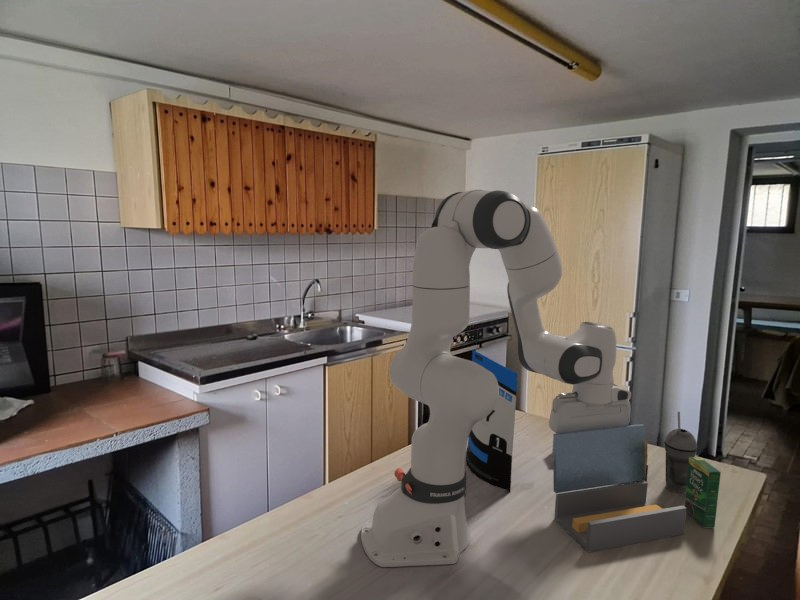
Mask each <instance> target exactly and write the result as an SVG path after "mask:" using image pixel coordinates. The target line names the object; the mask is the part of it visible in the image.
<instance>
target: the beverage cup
mask: <svg viewBox="0 0 800 600" xmlns="http://www.w3.org/2000/svg"><path fill="white" fill-rule="evenodd" d="M663 443H664V449H665V488H666V489H667V490H668V491H669V492H673V493H676V494H686V486H687V475H688V463H689V457H696V454H697V450H698V444H697V440H696V437H695V436H694V435H693V433H691V432H690V431H688V430H687V429H683V428H681V412H680V411H677V428H676V429H675V428H674V429H672V430H670V431H669V432H668V433H667V435H666V437H665V439H664V441H663Z"/></svg>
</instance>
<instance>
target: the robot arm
mask: <svg viewBox="0 0 800 600" xmlns="http://www.w3.org/2000/svg"><path fill="white" fill-rule="evenodd" d="M431 223H432V224H431V227H430V228H427V229H426V230H424V231H423V232H421V233H420V235H419V236H418V238H417V240H416V245H415V250H414V256H413V265H412V278H411V281H412V286H411V287H412V290H411V291H412V295H411V296H412V298H411V299H412V300H411V301H412V303H411V304H412V308H411V309H412V310H411V325H410V330H409V334H408V337H407V340H406V342H405V344H404V345H403V346H402V348H401V349H399V350H398V351H397V352H396V353H395V354H394V356H393V357H392V359H391V362H390V365H389V368H388V369H389V370H388V371H389V373H388V375H389V379H390V382H391V383H392V386H394V387H395V388H396V389H398V390H399V392H401V393H402V394H403V395H405V396H406V397H407V398H409V399H412V400H415V401H417V402H419V403H421V404H424V405H426V406H428V409H429V417H428V422H426V423H423V424H422V425H420V426H419V427H418V428H417V429H416V430H415V431H414V432H413V434H412V437H411V449H410V451H411V452H410V468H409V469H408V471H407V472H406V473H405V471H404V470H403V468H401V467H400V468H397V469H395V471H394V473H393V474H394V477H395V478H396V480H397V481H398V482H400V485H401V486H400V487H399V488H397V489H396V490H395V491H394V492H392V493H391V494H390V495H388V496H387V497H386V498H384V499H383V500H382V501H380V502H378V504H377V505H376V507H375V509H374V512H373V516H372V520H370V521H368V522H365V523H363V525H362V528H361V533H360V540H361V545H362V548H363V550H364V552H365V554H366V555H367V557H368V558H369V559H370V561H372V563H373V564H375V565H377V566H378V567H381V568H395V567H416V566H418V567H419V566H435V565H436V566H440V565H442V566H443V565H454V564H456V563H457V562H458V560H459V557H460V554H461V553H462V552H463V551H464V550H465V549H467V547H468V545H469V543H470V541H471V540H470V539H471V536H470V532H469V529H468V523H467V517H466V516H467V515H466V508H465V504H466V503H465V498H466V496H467V487H468V483H467V480H468V479H467V471H466V452H467V446H468V437H469V434H470V432H471V430H472V428H473V426H474V425H475V424H476V423H477V422H478V421H479V420H481V419H483V418H485V417H486V416H488V415H489V414H490V413H491V412H492V410H493V409H494V408H495V406H496V404H497V401H498V397H499V386H498V382H497V379H496V377H495V375H494V374H493V373H492V372H490V371H489V370H487V369H485V368H484V367H482V366H480V365H479V364H477V363H475V362H473V361H472V360H469V359H465V358H461V357H459V356H455V355H452V353H451V347H452V341H453V338H454V337H455V336H457V335H459V334H460V333H462V332H464V330H465V329H467V327H468V325H469V323H470V305H471V303H470V297H471V296H470V293H471V291H470V290H471V288H470V287H471V285H470V284H471V282H470V281H471V279H470V276H471V274H470V273H471V271H470V266H471V265H470V264H471V260H472V257H473V254H474V252H475V251H476V249H491V250H492V249H493V250H498V252H499V253H500V256H501V259H502V262H503V266H504V269H505V270H506V271H505V272H506V275H507V279H508V283H507V285H506V288H507V289H506V290H507V297H508V298H507V299H508V304H509V308H510V311H511V315H512V320H513V322H514V327H515V331H516V336H517V355H518V360H519V362H520V364H521V366H522V367H523V368H524V369H525V370H526V371H529V372H532V373H535V374H539V375H542V376H545V377H548V378H550V379H553V380H556V381H559V382H561V383H563V384H568V385H572V387H571V388H572V389H571V392H565V393H561V392H560V393H558V395H556V396H555V397H554V398H553V399H552V402H551V403H552V404H551V406H552V407H551V410H550V415H549V421H548V427H549V428H550V430H551V431H552V432H554V434H555V433H565V432H574V431H583V430H592V429H601V428H610V427H619V426H628V425H629V424H630V421H631V411H632V409H631V408H632V407H631V401H630V400H631V398H632V392H631V391H630V390H628V389H626V388H625V387H622V386H620V385H618V384H614V381H615V379H614V378H615V377H614V367H615V365H616V361H617V335H616V332H615V329H614V328H613V327H610V326H609V325H607V324H606V325H604V324H601V323H598V322H591V321H583V322H581V323H580V324H579V327H578V328H577V330H576V331H575V332H573V333H572V334H570V335H569V336H566V337H562V336H558V335H555V334H552V333H550V331H548V330H547V329H545V327H544V326H543V323H542V319H541V313H540V309H539V305H538V299H540V298H542V297H544V296H546V295H548V294H549V293H550V292H552V291H553V290H554V289H555V288H556V287H557V285H559V283H560V281H561V280H562V279H561V278H562V276H563V268H562V260H561V258H560V255H559V251H558V249H557V245H556V242H555V240H554V237H553V235H552V233H551V231H550V228H549V226H548V224H547V222H546V220H545V218H544V217H543V215H542V213H541V212H540V211H539V209H538V208H536V207H535V206H533V205H530V204H524V202H523V201H522V200H521V199H520V198H519V197H518V196H517V195H515V194H513V193H511V192H508V191H504V190H500V189H499V190H485V189H472V190H471V189H470V190H468V191H467V190H465V191H458V192H454V193H452V194H450V195H447V196H446V197H445V198H444V199H442V201H441V202H440V203H439V204H438V207H437V209H436V211H435V214H434V220H433V222H431Z"/></svg>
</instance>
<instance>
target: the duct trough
mask: <svg viewBox="0 0 800 600" xmlns="http://www.w3.org/2000/svg"><path fill="white" fill-rule="evenodd" d="M648 485H649V484H648V481H647V482H646V481H640V482H636V481H635V482H628V483H621V484H615V485H608V486H601V487H595V488H588V489H581V490H575V491H568V492H561V493H555V504H554V515H553V516H554V517H553V519H554V521H556V523H557V524H559V526H560V527H562V528H563V529H564V530H565V531H566V532H567V533H568V534H569V535H570V536H571V537H572V538H573V539H574V540H575V541H577V543H579V545H580V546H582V548H583V549H585V550H586V551H587V552H588V553H593V552H598V551H602V550H607V549H613V548H619V547H623V546H628V545H633V544H638V543H644V542H649V541H655V540H660V539H664V538H670V537H675V536H681V535H684V533H685V524H686V517H687V511H686V510H687V508H686V507H685V505H677V506H672V507H667V508H662V509H660V510H654V511H648V512H642V513H636V514H631V515H625V516H619V517H613V518H607V519H602V520H596V521H590V522H588V528H587V531H584V532H577V531H576V530H575V529H574V528H573V527H572V523H573V518H579V517H585V516H591V515H596V514H602V513H608V512H614V511H620V510H626V509H632V508H638V507H644V506H650V505H651V504H648V503H647V494H648Z"/></svg>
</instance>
